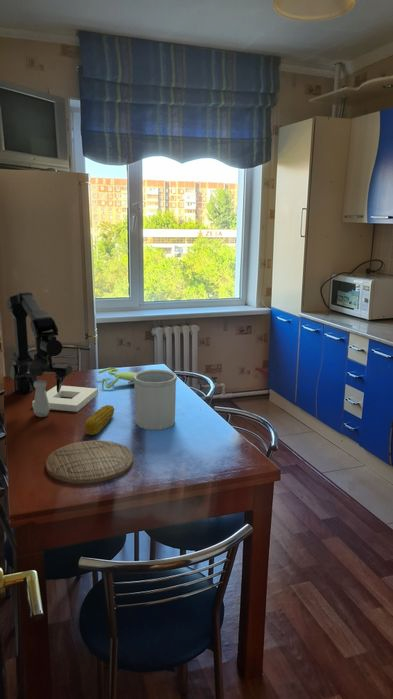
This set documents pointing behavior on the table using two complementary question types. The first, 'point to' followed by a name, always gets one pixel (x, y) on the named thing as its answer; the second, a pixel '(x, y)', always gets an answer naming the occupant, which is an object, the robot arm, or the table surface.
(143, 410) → the utensil holder
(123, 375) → the figurine
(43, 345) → the robot arm
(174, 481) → the table surface
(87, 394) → the socket board
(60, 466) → the trivet
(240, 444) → the table surface
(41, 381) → the salt shaker
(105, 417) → the food
